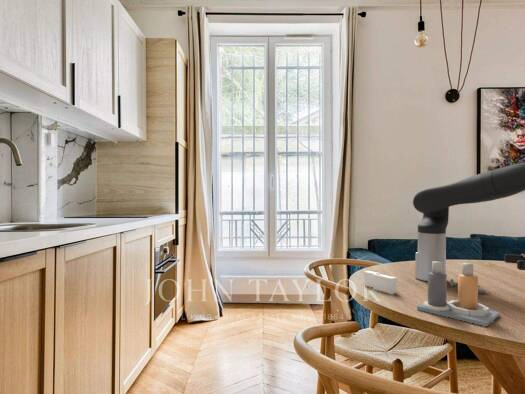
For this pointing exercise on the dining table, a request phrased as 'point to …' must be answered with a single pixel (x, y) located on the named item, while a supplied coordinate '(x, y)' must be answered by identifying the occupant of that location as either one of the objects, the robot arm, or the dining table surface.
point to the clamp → (457, 284)
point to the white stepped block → (380, 282)
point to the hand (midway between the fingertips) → (510, 261)
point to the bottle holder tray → (450, 308)
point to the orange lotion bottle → (467, 288)
